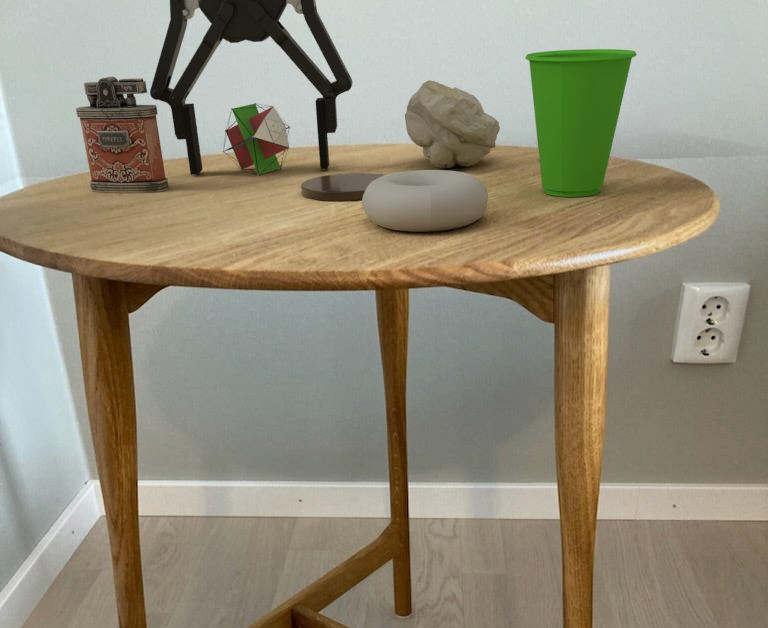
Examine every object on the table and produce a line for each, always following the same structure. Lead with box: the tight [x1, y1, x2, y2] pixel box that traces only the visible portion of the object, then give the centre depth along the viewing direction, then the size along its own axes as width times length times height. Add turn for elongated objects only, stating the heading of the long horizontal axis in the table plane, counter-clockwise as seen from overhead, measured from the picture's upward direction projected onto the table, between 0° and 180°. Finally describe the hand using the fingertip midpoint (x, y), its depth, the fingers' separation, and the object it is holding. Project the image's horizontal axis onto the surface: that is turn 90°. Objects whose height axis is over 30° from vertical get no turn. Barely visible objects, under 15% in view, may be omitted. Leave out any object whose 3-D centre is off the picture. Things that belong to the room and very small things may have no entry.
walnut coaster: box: [300, 172, 385, 202], centre depth 85 cm, size 9×9×1 cm
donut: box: [361, 169, 489, 233], centre depth 72 cm, size 10×4×10 cm
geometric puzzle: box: [222, 102, 291, 177], centre depth 94 cm, size 7×7×8 cm
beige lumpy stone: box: [404, 79, 501, 169], centre depth 93 cm, size 12×8×10 cm
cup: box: [524, 48, 637, 198], centre depth 78 cm, size 9×9×11 cm
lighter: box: [75, 76, 170, 194], centre depth 88 cm, size 8×3×10 cm, turn 76°
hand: (260, 170), depth 96 cm, fingers open, 13 cm apart
